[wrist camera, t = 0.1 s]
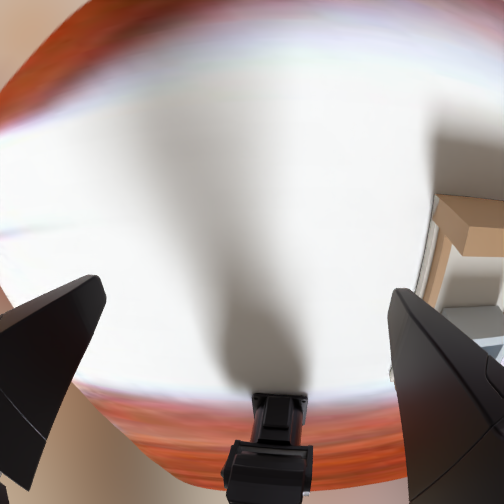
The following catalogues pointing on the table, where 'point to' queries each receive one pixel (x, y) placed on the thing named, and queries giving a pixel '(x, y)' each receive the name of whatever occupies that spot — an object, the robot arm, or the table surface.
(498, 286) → the tan wooden u-shaped frame
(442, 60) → the table surface
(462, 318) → the block
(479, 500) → the robot arm
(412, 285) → the table surface
